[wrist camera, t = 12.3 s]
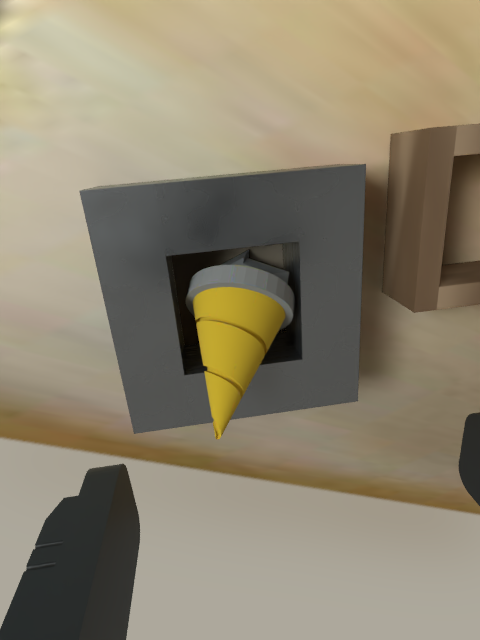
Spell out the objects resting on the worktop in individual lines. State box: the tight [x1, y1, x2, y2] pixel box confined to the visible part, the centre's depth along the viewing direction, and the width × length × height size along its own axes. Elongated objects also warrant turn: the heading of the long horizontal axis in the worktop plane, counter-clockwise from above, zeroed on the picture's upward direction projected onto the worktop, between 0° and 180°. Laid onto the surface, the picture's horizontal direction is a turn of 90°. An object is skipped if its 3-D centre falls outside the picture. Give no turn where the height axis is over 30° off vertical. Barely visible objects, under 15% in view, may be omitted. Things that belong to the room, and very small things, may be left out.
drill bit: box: [186, 250, 295, 439], centre depth 19 cm, size 5×5×10 cm
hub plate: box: [80, 164, 366, 434], centre depth 20 cm, size 12×12×4 cm
